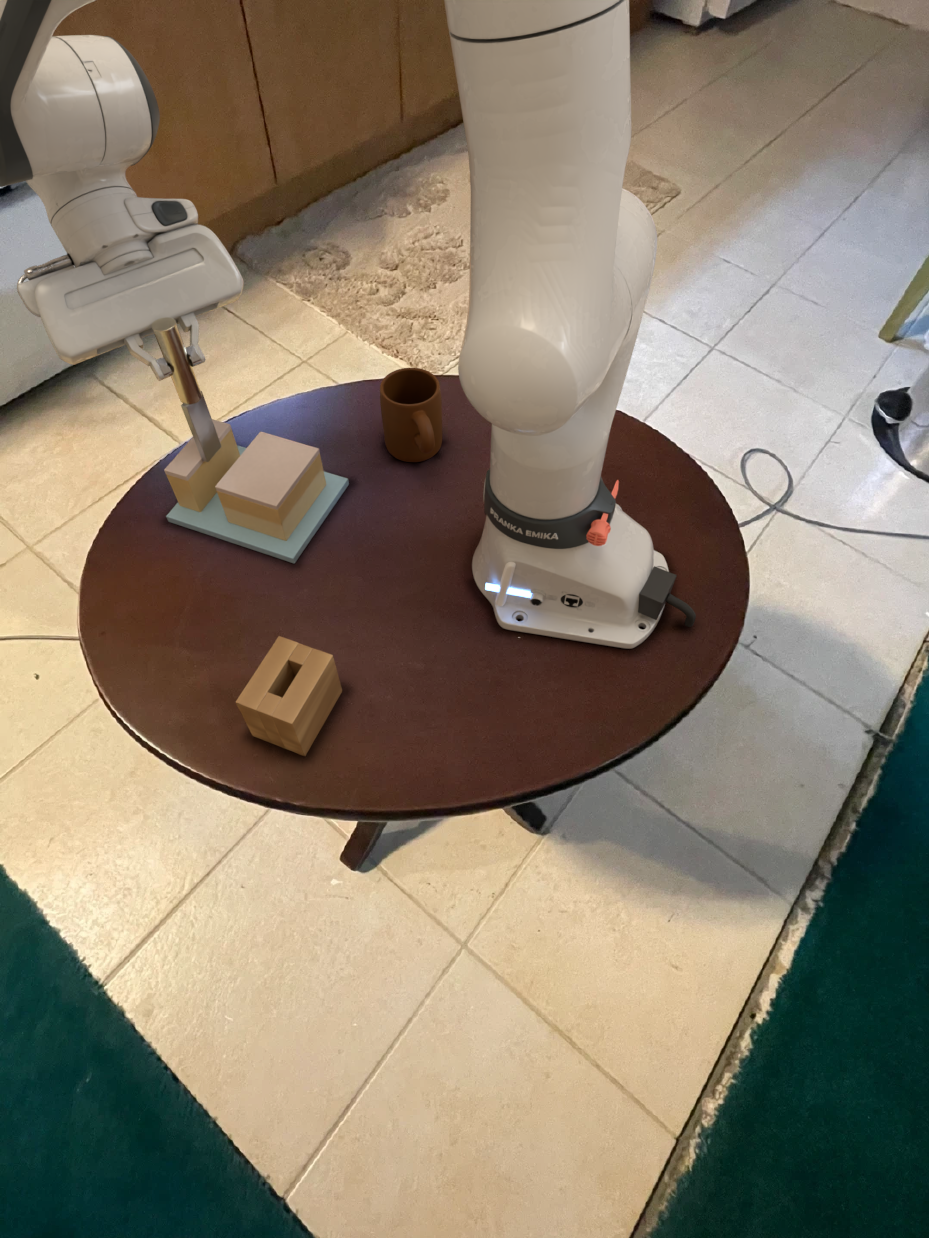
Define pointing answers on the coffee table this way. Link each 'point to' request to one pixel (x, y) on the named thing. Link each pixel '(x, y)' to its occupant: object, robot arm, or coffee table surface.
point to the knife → (187, 387)
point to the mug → (411, 414)
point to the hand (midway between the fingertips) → (182, 370)
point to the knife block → (290, 695)
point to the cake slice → (201, 469)
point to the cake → (268, 499)
